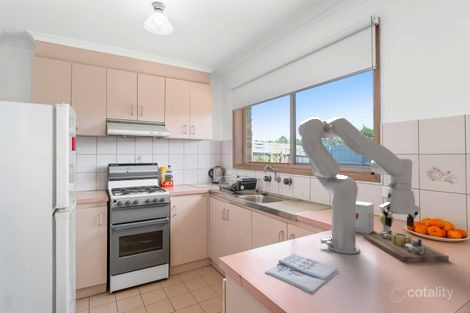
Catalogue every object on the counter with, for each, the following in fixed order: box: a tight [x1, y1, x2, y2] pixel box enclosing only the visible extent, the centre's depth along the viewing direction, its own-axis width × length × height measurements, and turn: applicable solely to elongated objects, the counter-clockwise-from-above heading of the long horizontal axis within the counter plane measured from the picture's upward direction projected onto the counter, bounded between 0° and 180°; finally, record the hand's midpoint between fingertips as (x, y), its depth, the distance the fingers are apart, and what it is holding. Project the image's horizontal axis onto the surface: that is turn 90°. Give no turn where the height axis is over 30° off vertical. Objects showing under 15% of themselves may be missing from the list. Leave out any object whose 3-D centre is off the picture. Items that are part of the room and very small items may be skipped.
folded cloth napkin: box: [264, 253, 340, 295], centre depth 84 cm, size 19×20×2 cm
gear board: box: [363, 229, 450, 263], centre depth 105 cm, size 18×26×6 cm
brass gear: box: [391, 231, 412, 247], centre depth 105 cm, size 7×7×4 cm
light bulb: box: [378, 212, 395, 232], centre depth 128 cm, size 6×6×10 cm
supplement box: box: [356, 200, 375, 235], centre depth 130 cm, size 9×9×15 cm
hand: (399, 226), depth 105 cm, fingers open, 9 cm apart
